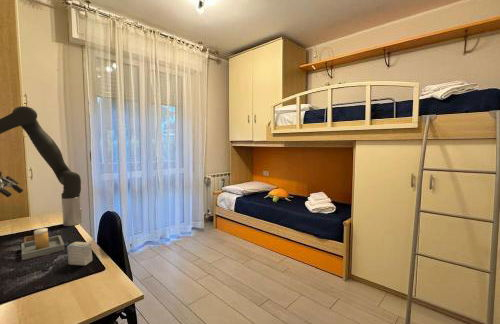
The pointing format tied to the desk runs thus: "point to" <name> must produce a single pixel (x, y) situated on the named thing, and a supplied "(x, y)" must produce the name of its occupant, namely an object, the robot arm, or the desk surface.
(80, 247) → the medicine box
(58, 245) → the tray
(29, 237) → the holder
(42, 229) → the pill bottle
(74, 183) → the robot arm
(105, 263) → the desk surface
